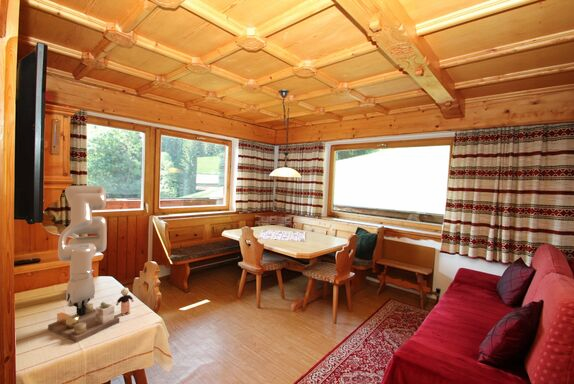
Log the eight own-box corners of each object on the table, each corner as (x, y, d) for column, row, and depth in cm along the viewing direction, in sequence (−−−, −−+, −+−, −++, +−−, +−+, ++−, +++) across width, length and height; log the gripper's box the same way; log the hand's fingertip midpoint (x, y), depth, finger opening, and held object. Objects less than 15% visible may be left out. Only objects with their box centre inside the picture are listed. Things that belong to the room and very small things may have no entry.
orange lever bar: (81, 325, 122) (81, 316, 122) (69, 329, 118) (70, 321, 118) (65, 318, 127) (65, 310, 127) (53, 322, 123) (53, 314, 123)
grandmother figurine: (130, 309, 142) (130, 284, 141) (134, 312, 140) (135, 286, 139) (114, 315, 136) (114, 289, 135) (118, 318, 134) (118, 291, 133)
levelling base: (48, 329, 122) (48, 307, 121) (91, 312, 138) (91, 292, 138) (76, 342, 114) (76, 319, 113) (119, 322, 130) (119, 301, 130)
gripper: (93, 269, 136) (92, 306, 137) (57, 278, 123) (57, 320, 124) (103, 271, 133) (102, 310, 134) (68, 282, 120) (67, 324, 121)
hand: (81, 314), depth 129 cm, fingers closed
